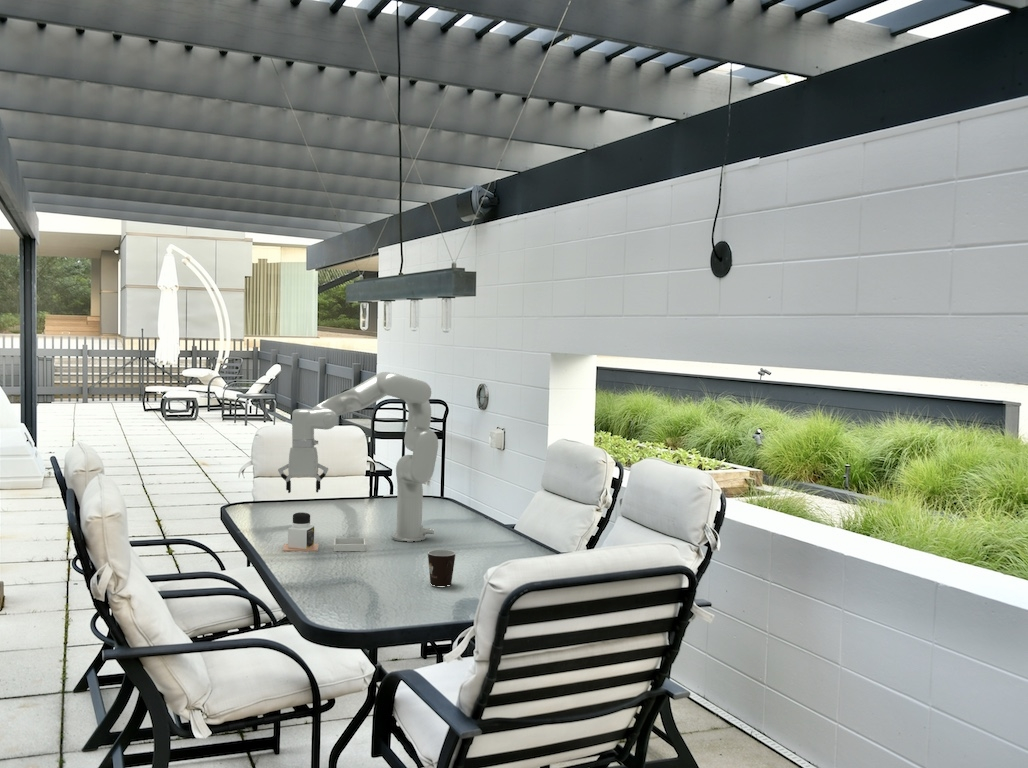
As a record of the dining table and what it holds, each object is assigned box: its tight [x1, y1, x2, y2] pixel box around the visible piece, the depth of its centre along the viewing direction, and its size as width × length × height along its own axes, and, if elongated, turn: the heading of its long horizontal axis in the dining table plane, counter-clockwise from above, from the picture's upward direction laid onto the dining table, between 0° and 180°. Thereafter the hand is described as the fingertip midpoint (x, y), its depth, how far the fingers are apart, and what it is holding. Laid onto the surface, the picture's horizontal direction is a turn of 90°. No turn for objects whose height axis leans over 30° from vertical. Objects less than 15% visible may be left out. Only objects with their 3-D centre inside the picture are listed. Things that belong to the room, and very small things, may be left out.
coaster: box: [281, 543, 320, 551], centre depth 332 cm, size 12×10×1 cm
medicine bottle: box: [287, 511, 315, 549], centre depth 332 cm, size 7×7×12 cm
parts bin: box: [333, 537, 366, 552], centre depth 335 cm, size 11×11×2 cm
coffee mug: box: [427, 549, 457, 586], centre depth 288 cm, size 12×9×10 cm
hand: (303, 492), depth 331 cm, fingers open, 9 cm apart
